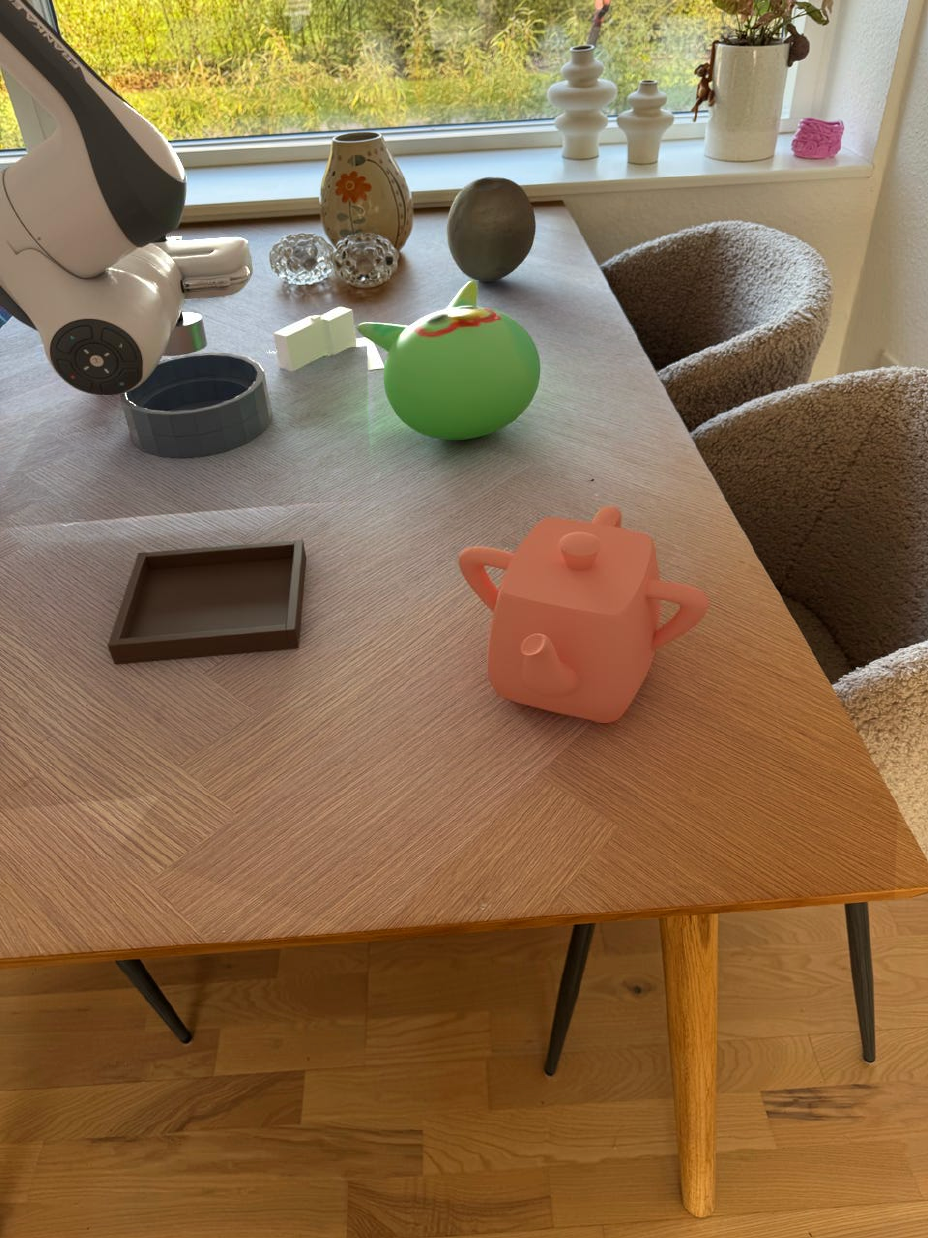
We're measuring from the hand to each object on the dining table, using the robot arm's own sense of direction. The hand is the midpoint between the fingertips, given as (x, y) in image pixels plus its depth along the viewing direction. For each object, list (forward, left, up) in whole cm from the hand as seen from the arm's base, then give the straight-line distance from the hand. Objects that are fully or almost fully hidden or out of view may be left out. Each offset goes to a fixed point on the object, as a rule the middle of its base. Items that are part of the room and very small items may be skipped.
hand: (159, 245), depth 97 cm
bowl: (0, +2, -22) cm, 22 cm away
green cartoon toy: (+31, -3, -22) cm, 38 cm away
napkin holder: (+14, +19, -22) cm, 32 cm away
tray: (+6, -34, -22) cm, 41 cm away
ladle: (0, -2, -10) cm, 10 cm away
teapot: (+36, -48, -22) cm, 64 cm away
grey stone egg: (+40, +46, -22) cm, 64 cm away
